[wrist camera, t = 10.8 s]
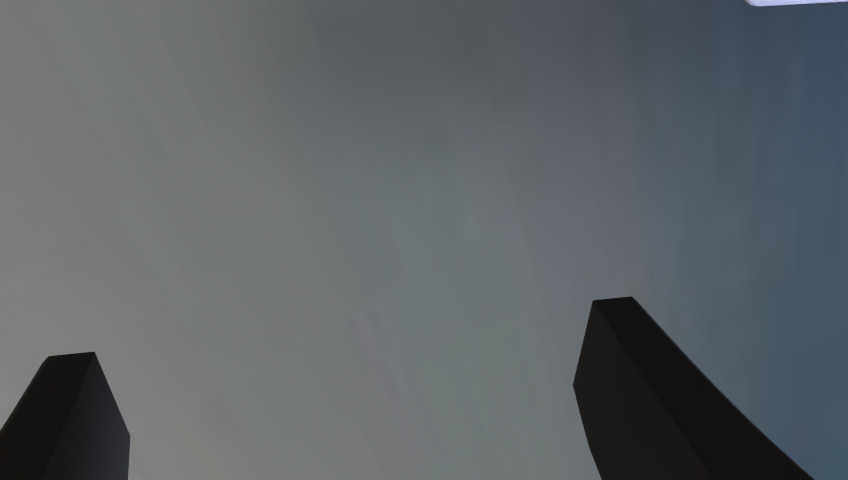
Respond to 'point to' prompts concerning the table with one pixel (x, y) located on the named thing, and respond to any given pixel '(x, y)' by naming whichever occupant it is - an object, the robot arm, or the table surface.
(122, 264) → the table surface
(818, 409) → the table surface
